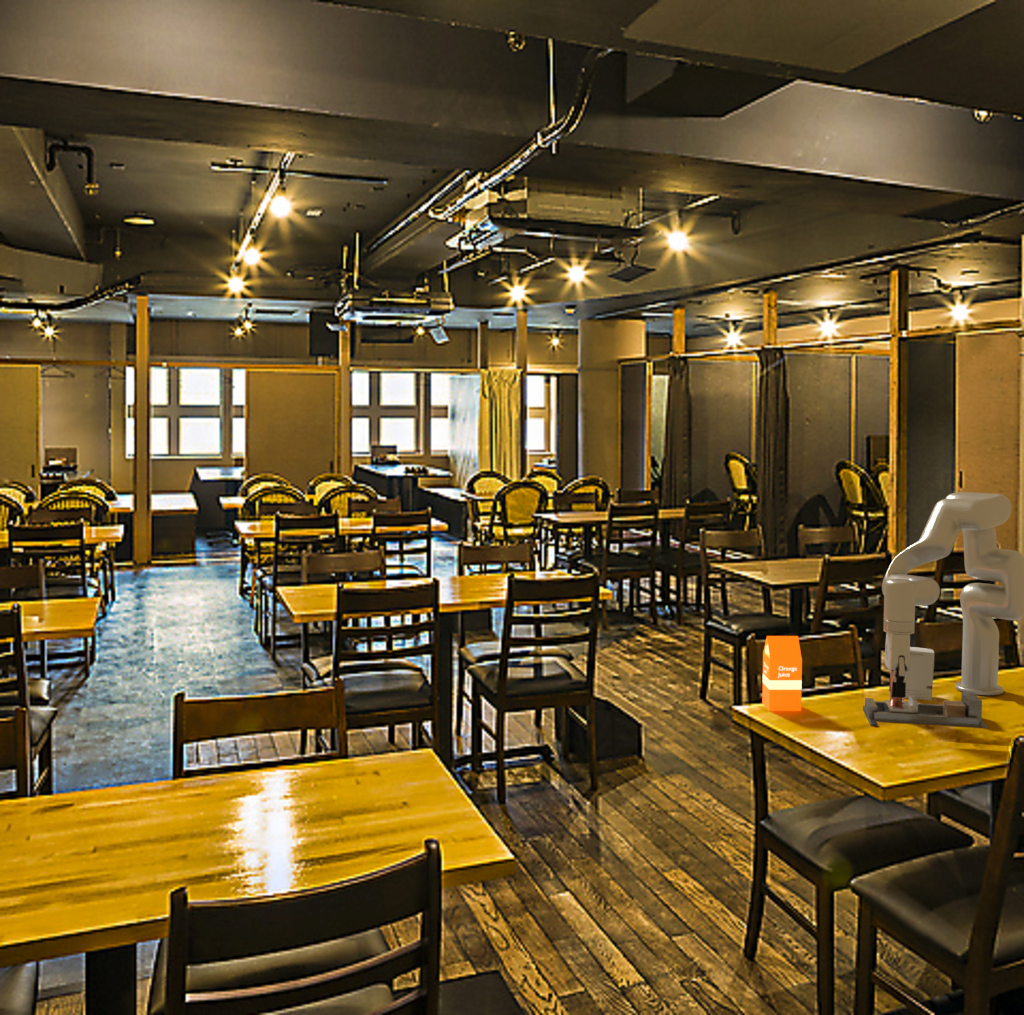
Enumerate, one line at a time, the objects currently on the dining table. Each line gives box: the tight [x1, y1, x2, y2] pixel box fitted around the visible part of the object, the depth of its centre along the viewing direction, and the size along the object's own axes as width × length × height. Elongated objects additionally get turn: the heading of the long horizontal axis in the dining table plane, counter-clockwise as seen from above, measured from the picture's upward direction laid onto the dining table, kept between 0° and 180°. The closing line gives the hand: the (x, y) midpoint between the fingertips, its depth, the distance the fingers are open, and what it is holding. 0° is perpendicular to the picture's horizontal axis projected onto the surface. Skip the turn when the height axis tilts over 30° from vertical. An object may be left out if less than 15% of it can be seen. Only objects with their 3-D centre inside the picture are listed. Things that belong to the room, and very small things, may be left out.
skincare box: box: [904, 646, 935, 701], centre depth 261 cm, size 8×6×15 cm
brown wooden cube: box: [942, 699, 966, 717], centre depth 240 cm, size 4×4×4 cm
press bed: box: [862, 691, 989, 729], centre depth 242 cm, size 14×28×7 cm, turn 77°
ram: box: [883, 668, 919, 714], centre depth 243 cm, size 8×7×12 cm
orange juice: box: [761, 635, 803, 712], centre depth 255 cm, size 8×9×20 cm
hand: (897, 694), depth 243 cm, fingers closed on ram, 3 cm apart
